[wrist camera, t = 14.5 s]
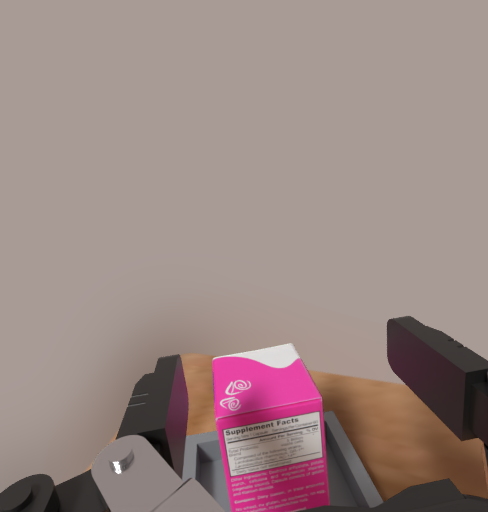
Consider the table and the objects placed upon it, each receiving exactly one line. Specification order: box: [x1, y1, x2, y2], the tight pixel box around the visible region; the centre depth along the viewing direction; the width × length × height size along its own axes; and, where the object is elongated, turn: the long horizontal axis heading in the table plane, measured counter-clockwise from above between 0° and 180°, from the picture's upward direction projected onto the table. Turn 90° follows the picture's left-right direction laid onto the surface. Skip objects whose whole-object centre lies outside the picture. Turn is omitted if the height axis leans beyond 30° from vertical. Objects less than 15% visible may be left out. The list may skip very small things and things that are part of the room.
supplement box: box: [213, 344, 330, 512], centre depth 19 cm, size 6×6×12 cm
